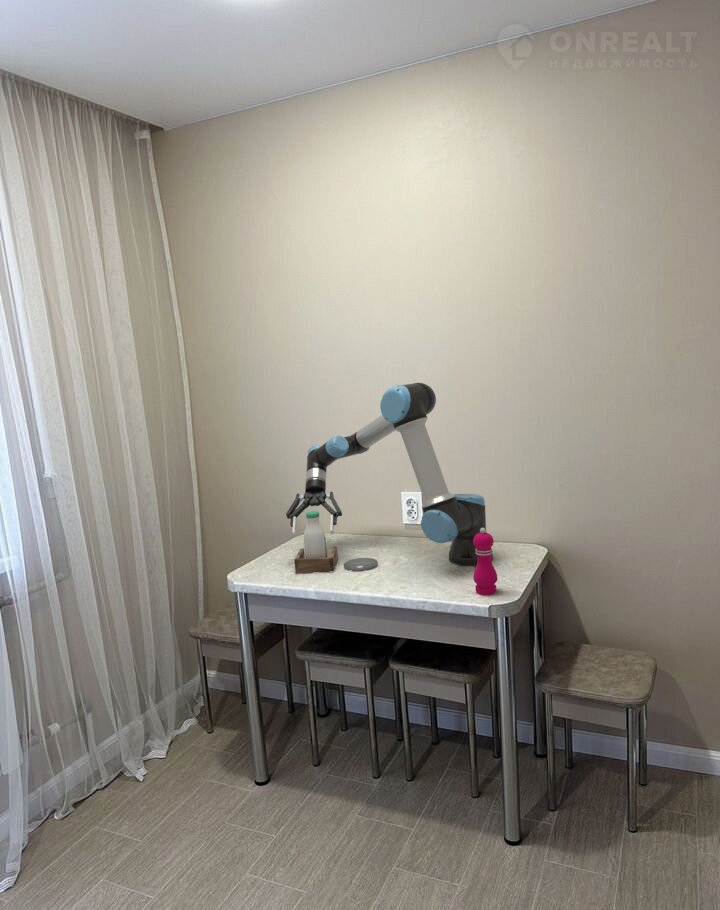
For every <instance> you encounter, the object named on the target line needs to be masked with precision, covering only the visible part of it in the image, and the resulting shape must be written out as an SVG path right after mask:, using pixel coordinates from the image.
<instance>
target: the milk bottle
mask: <svg viewBox="0 0 720 910" xmlns="http://www.w3.org/2000/svg"><path fill="white" fill-rule="evenodd" d="M305 517H306V526H305V529H304V532H303V543H304V555H305V558H324V557H328V550H327V540H326V533H325V530H324V527H323V526H322V524H321V522H320V512H319V510H318V511H317V510H311V511H308V512H306V513H305Z"/></svg>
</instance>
